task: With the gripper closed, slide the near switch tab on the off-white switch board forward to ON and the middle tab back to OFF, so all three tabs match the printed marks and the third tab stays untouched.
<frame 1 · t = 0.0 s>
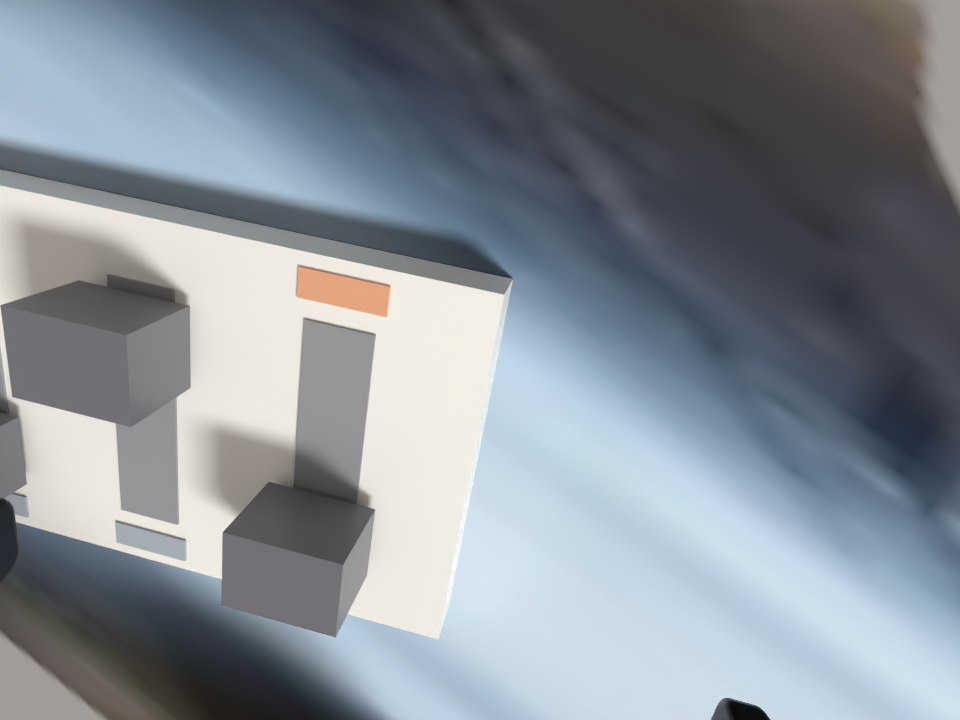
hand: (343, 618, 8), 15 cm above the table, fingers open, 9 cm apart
tab 1: (300, 555, 22), point 4 cm above the table, slide at 0.0 cm
switch board: (180, 386, 25), on the table
tab 2: (103, 350, 20), point 4 cm above the table, slide at 6.0 cm
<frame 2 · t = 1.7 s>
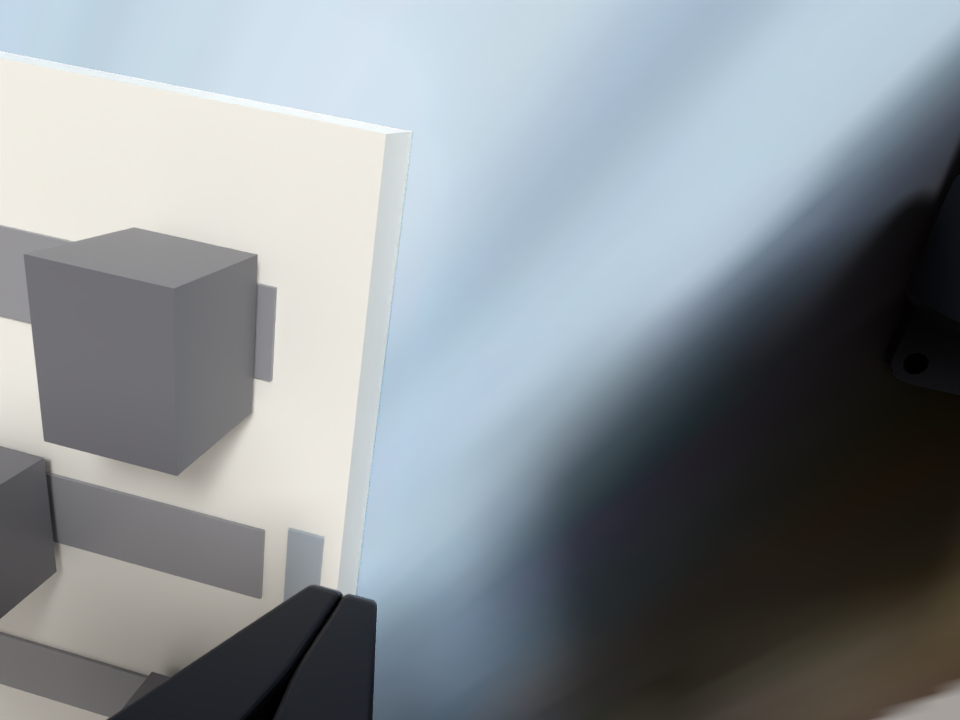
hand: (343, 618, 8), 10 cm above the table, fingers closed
tab 1: (154, 344, 14), point 4 cm above the table, slide at 0.0 cm
switch board: (153, 484, 20), on the table
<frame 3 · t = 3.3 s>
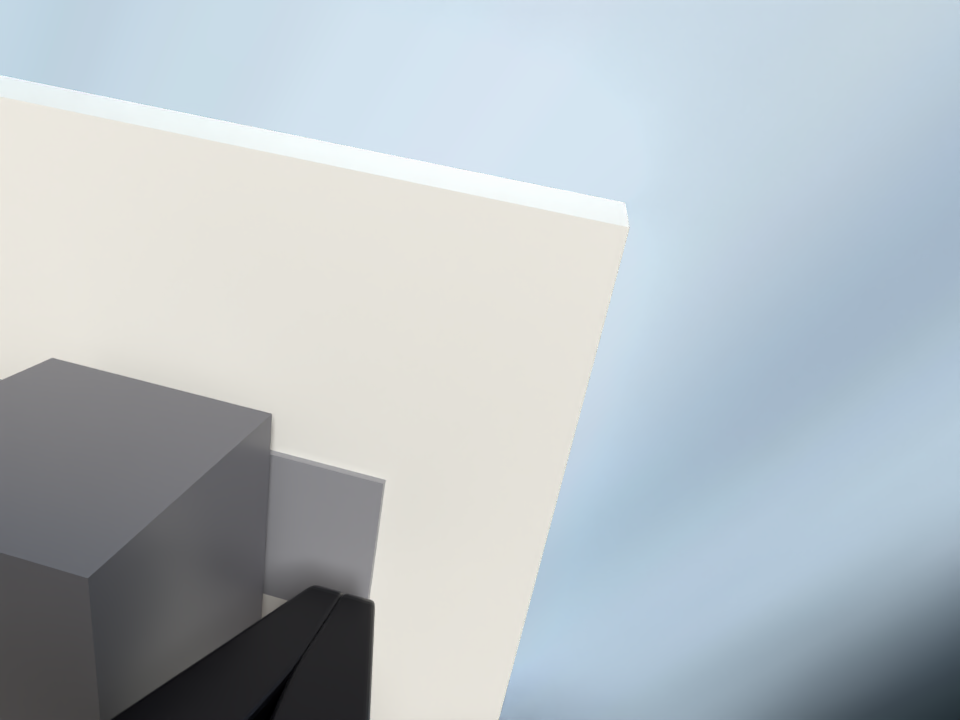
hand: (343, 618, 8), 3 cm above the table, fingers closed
tab 1: (79, 590, 7), point 4 cm above the table, slide at 1.1 cm, touching gripper
switch board: (162, 690, 14), on the table
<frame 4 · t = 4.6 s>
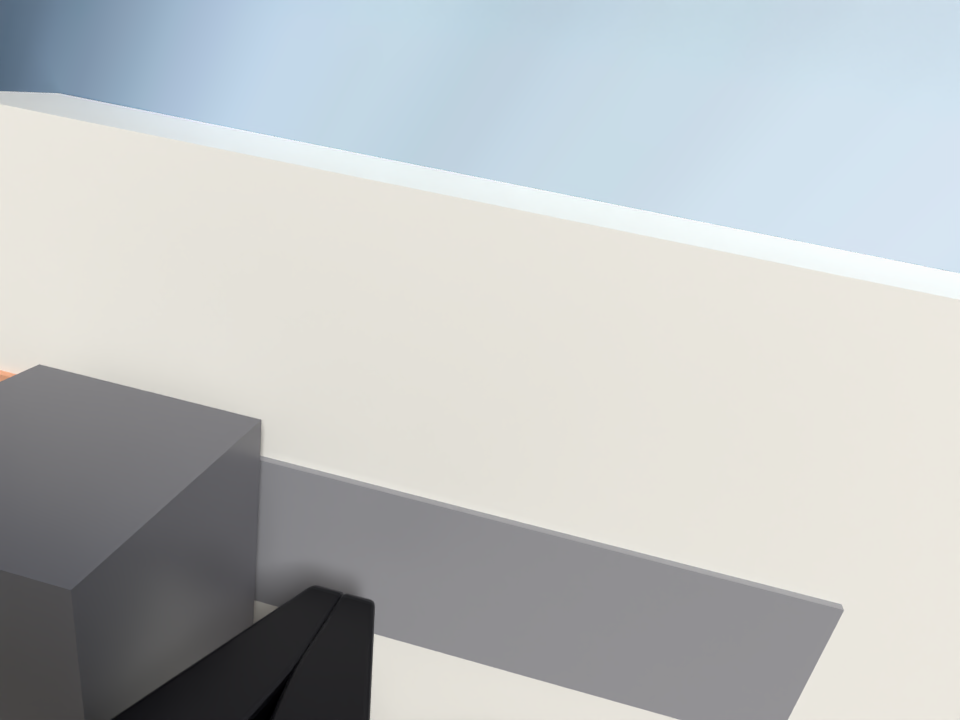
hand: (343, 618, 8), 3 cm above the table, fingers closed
tab 1: (67, 599, 7), point 4 cm above the table, slide at 7.0 cm, touching gripper
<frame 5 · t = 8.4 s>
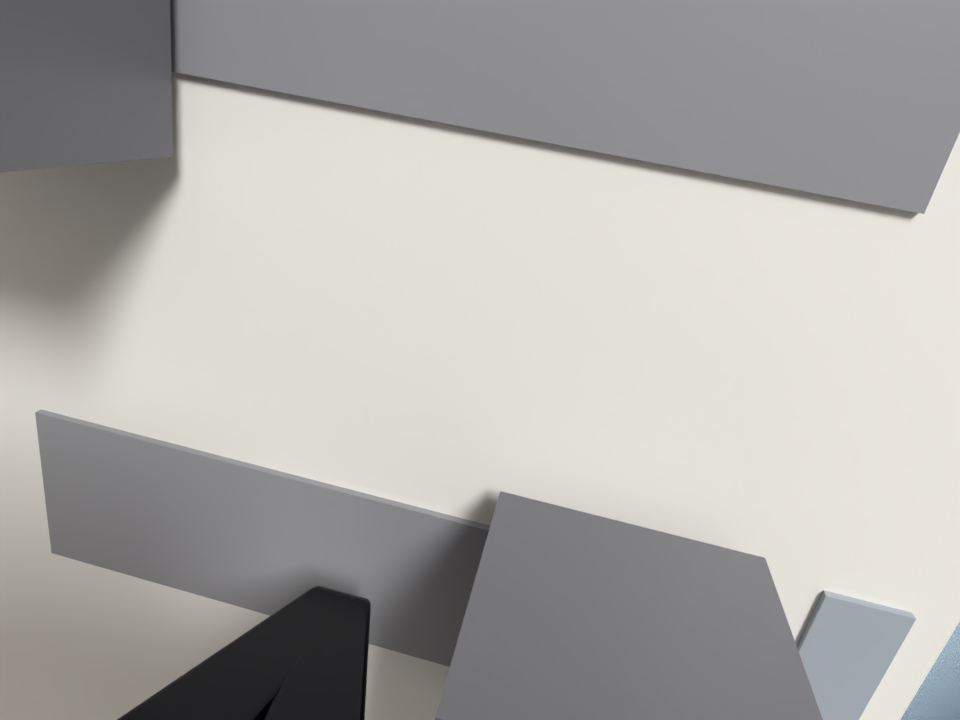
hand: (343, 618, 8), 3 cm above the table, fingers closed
switch board: (408, 489, 10), on the table
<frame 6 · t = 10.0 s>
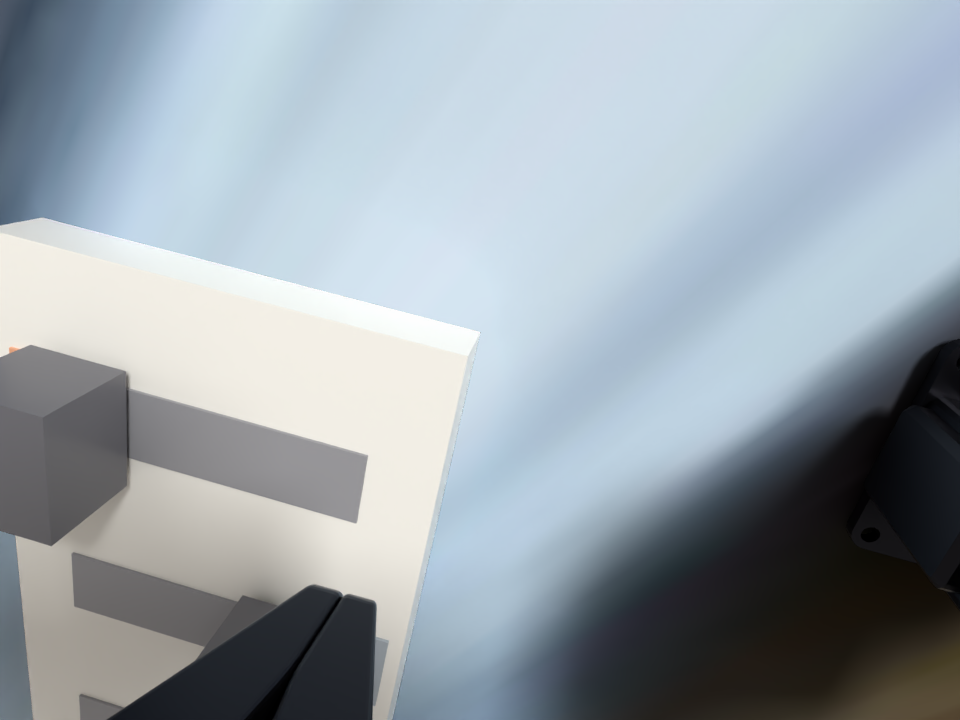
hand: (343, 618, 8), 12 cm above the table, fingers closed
tab 1: (40, 441, 18), point 4 cm above the table, slide at 7.0 cm
switch board: (233, 578, 24), on the table
tab 2: (259, 690, 20), point 4 cm above the table, slide at -0.1 cm
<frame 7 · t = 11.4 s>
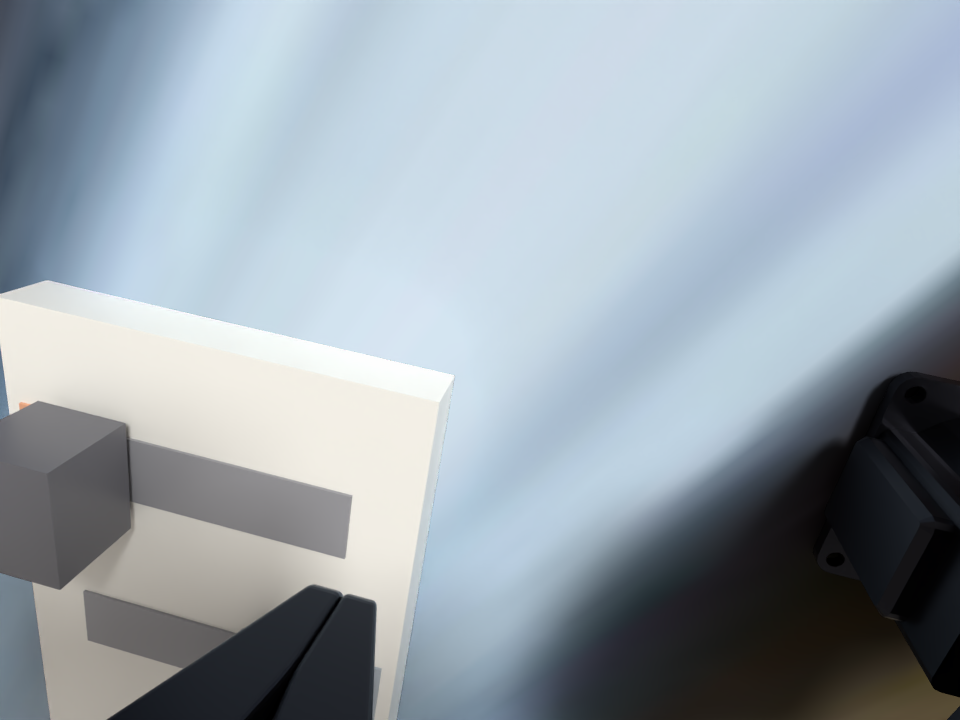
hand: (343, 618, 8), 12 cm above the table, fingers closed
tab 1: (48, 491, 19), point 4 cm above the table, slide at 7.0 cm
switch board: (236, 609, 25), on the table
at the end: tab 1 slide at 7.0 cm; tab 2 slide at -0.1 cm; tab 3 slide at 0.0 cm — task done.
